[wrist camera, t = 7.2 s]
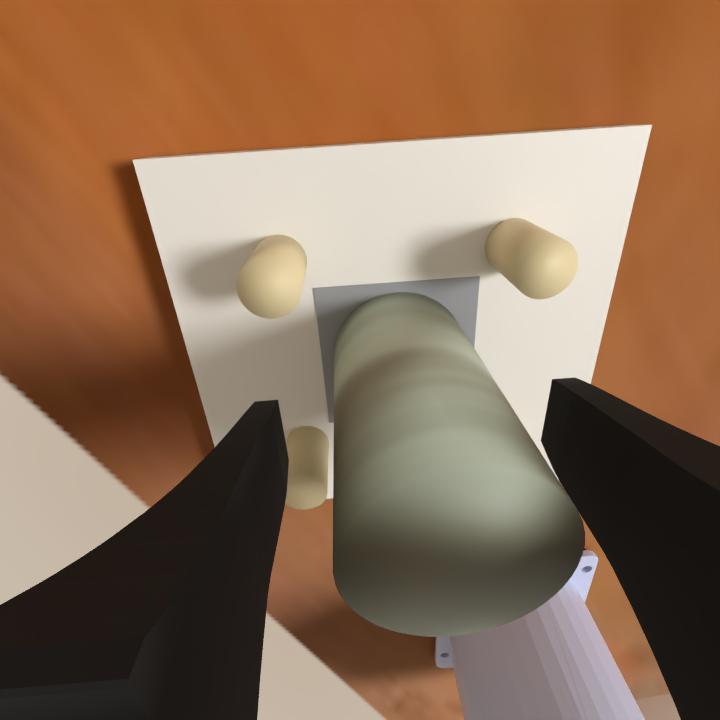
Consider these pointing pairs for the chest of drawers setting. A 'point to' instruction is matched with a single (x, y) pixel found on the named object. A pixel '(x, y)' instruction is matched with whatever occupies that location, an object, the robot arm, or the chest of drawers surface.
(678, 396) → the chest of drawers surface
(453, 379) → the peg
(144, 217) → the chest of drawers surface
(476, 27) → the chest of drawers surface
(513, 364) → the base plate
